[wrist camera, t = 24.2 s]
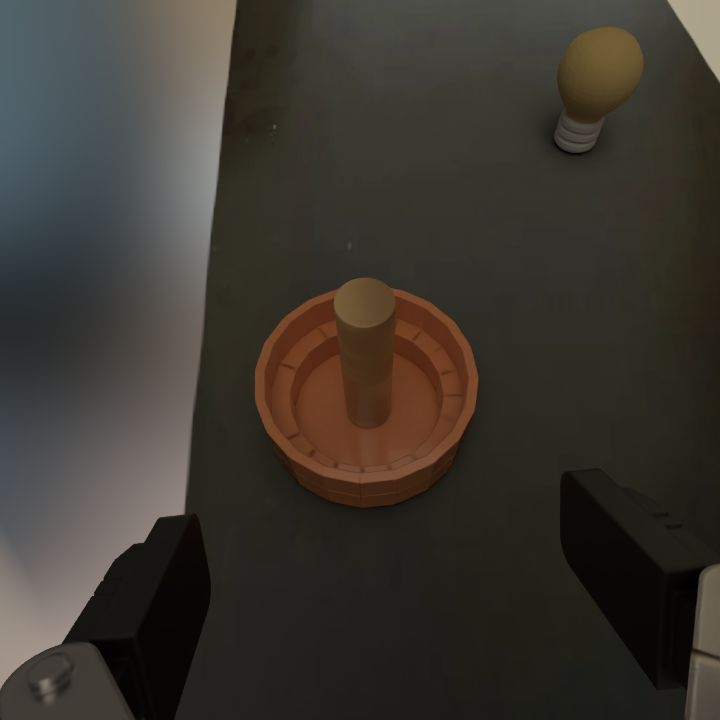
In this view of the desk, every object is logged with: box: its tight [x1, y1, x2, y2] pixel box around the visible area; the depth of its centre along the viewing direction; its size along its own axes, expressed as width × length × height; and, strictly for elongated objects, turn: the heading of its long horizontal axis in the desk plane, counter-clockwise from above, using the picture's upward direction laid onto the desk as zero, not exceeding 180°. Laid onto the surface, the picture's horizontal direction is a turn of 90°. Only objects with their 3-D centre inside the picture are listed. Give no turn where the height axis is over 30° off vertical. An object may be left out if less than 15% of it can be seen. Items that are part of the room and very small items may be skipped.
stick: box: [334, 278, 396, 429], centre depth 31 cm, size 3×3×12 cm
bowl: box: [255, 288, 479, 508], centre depth 34 cm, size 13×13×6 cm
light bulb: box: [554, 27, 643, 153], centre depth 46 cm, size 6×6×10 cm
